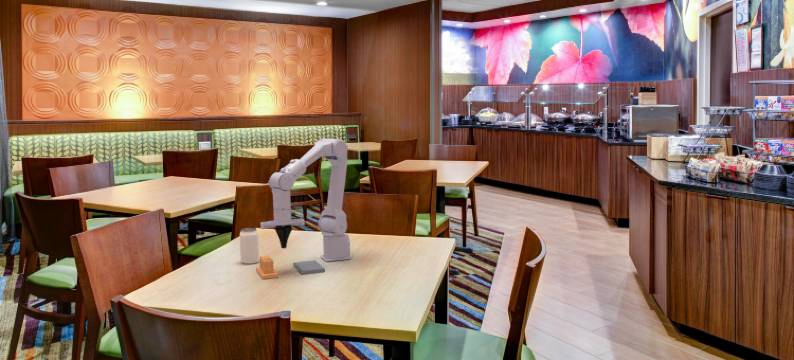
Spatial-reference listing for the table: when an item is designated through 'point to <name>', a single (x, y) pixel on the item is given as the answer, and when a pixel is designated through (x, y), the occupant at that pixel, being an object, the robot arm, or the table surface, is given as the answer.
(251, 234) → the can
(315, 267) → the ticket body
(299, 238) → the table surface
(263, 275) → the stub
